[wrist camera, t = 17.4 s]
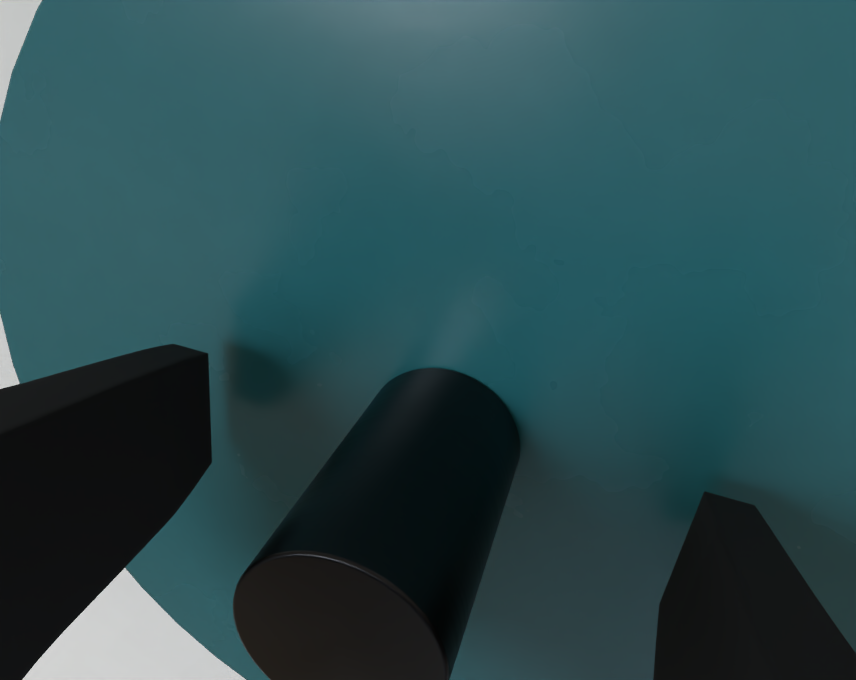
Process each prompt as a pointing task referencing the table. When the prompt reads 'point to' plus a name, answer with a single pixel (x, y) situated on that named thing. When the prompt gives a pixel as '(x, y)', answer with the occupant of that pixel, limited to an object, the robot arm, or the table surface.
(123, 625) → the table surface
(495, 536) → the teal disc
